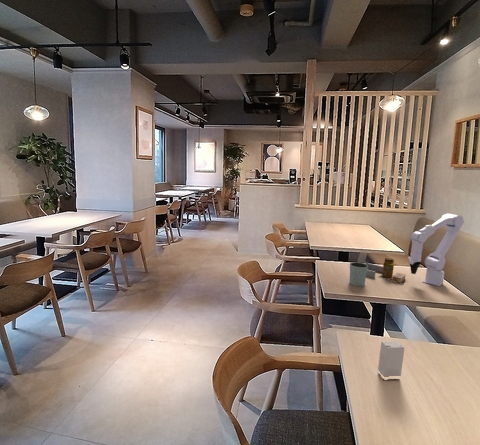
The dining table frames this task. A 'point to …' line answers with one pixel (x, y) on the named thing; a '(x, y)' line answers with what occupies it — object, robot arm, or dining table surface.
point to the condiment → (387, 269)
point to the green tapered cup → (358, 273)
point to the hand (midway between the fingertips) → (413, 273)
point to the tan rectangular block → (398, 278)
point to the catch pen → (374, 268)
